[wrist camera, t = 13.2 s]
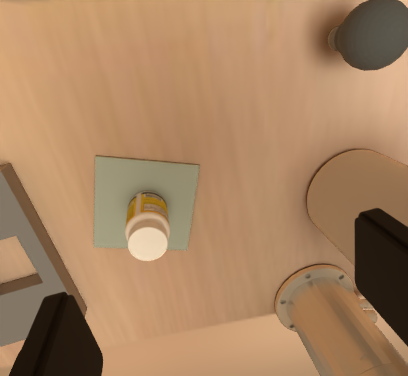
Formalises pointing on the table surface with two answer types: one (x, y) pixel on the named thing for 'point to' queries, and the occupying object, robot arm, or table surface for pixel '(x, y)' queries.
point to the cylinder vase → (356, 194)
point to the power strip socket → (40, 257)
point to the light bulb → (372, 34)
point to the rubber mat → (135, 183)
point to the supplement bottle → (147, 226)
